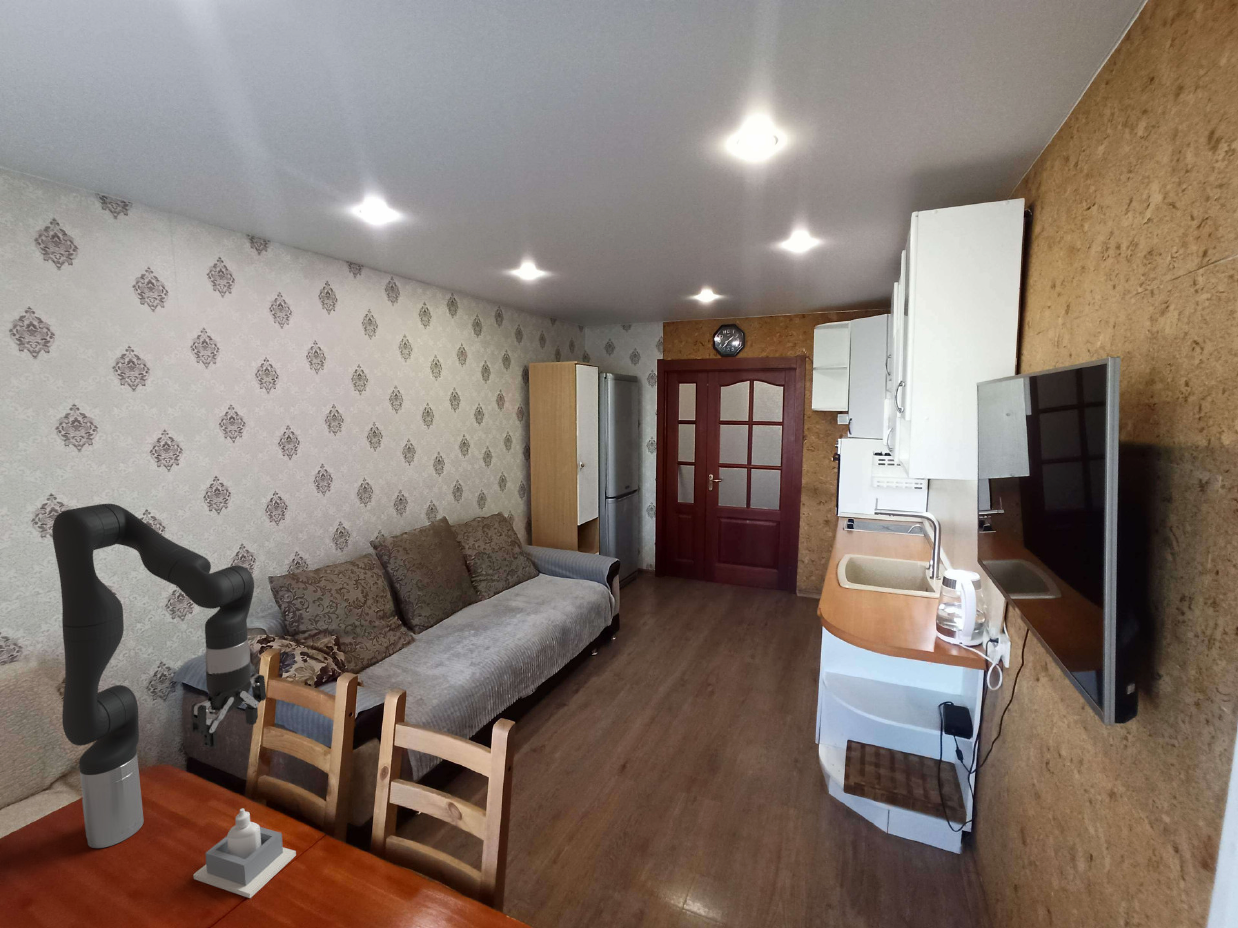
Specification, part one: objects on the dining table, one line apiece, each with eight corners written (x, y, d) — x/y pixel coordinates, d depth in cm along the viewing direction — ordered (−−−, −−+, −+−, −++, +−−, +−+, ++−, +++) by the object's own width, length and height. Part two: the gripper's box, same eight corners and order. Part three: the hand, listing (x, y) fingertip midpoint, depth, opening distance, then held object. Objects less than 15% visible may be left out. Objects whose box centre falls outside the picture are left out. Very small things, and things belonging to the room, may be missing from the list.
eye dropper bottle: (244, 874, 109) (240, 820, 107) (226, 865, 111) (222, 812, 109) (265, 858, 113) (261, 805, 111) (247, 849, 115) (243, 798, 113)
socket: (193, 878, 109) (191, 854, 108) (242, 838, 119) (241, 816, 118) (250, 898, 105) (248, 872, 104) (295, 855, 115) (294, 831, 114)
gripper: (247, 645, 119) (250, 713, 121) (178, 675, 106) (183, 751, 107) (273, 650, 117) (276, 719, 119) (206, 682, 103) (210, 760, 105)
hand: (232, 734), depth 113 cm, fingers open, 8 cm apart
